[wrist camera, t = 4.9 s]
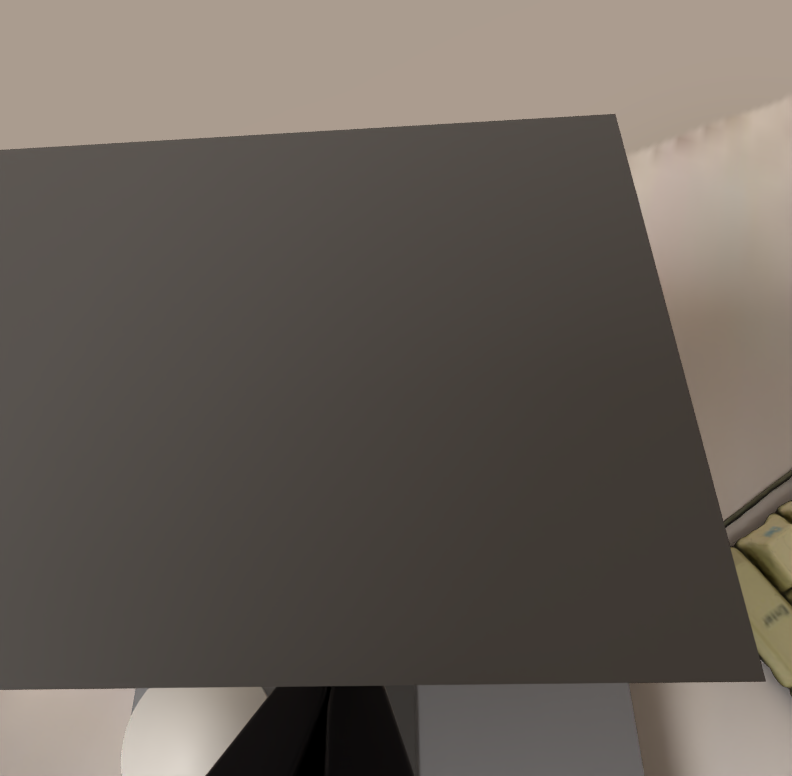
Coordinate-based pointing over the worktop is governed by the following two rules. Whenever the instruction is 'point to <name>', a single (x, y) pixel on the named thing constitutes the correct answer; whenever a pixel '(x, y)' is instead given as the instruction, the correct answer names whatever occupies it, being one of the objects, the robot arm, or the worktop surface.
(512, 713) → the switch panel
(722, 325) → the worktop surface
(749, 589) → the keyboard
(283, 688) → the robot arm
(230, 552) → the lever
